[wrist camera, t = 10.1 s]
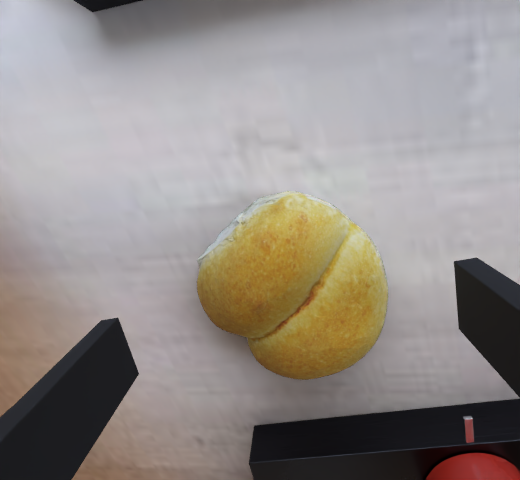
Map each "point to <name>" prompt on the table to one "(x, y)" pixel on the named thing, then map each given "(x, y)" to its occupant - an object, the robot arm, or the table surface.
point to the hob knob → (474, 468)
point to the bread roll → (296, 285)
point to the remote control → (103, 4)
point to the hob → (385, 443)
